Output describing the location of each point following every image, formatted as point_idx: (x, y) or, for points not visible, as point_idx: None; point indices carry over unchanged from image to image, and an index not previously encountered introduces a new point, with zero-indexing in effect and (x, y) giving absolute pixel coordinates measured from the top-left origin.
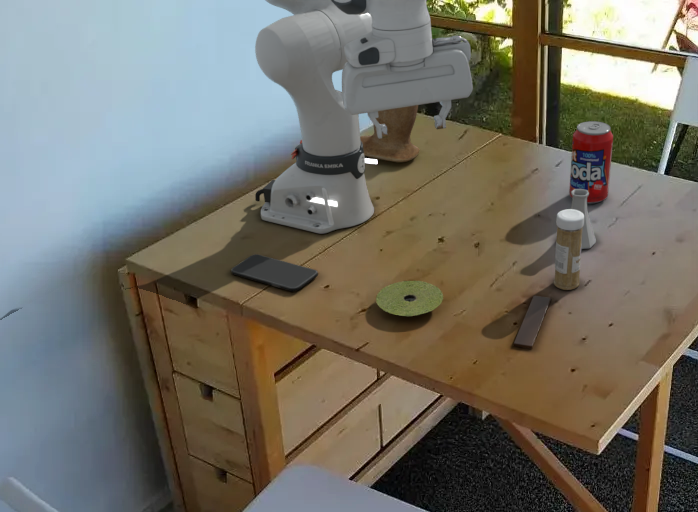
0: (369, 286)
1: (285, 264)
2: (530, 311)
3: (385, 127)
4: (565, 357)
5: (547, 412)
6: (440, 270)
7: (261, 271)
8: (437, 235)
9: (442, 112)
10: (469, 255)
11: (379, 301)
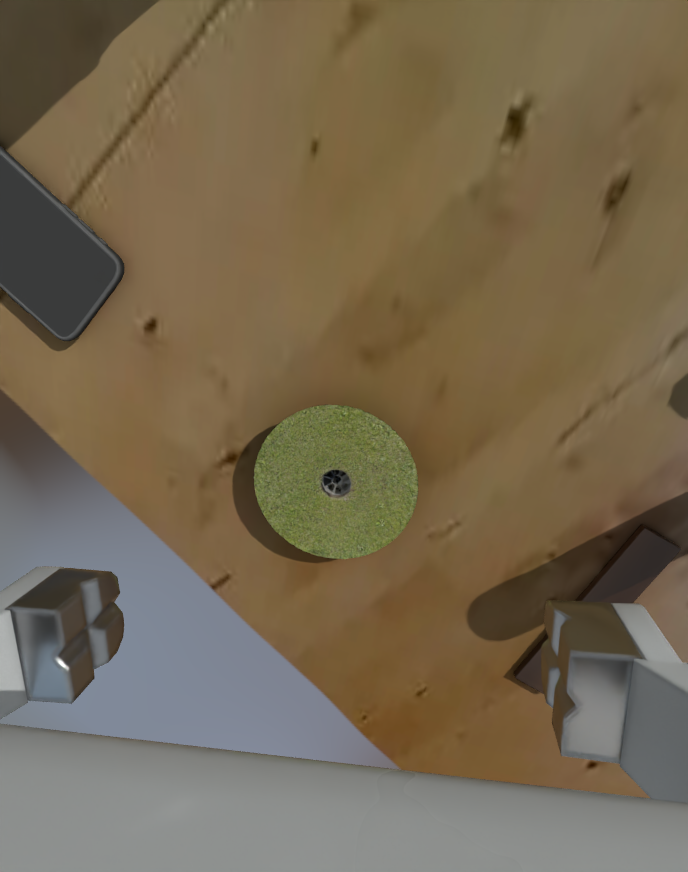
0: (255, 354)
1: (33, 197)
2: (603, 587)
3: (60, 700)
4: None
5: None
6: (456, 322)
7: None
8: (514, 82)
9: (673, 770)
10: (568, 255)
11: (261, 480)
